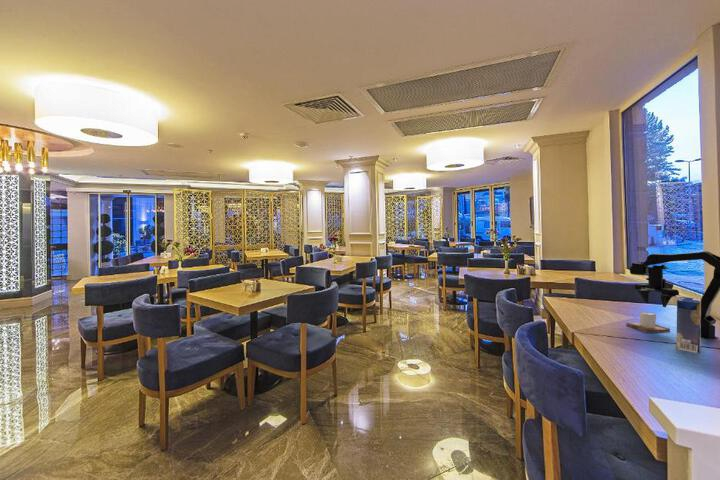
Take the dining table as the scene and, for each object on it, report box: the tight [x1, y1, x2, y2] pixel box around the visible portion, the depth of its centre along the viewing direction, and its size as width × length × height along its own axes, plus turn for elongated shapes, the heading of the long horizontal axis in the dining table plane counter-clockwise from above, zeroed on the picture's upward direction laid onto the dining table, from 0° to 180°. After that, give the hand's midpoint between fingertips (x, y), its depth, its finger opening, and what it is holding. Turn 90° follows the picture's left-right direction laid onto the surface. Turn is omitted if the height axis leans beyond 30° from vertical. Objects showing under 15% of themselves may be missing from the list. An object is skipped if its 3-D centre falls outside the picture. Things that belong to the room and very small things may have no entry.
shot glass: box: [638, 311, 657, 328], centre depth 163 cm, size 7×7×7 cm
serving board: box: [625, 321, 671, 333], centre depth 163 cm, size 12×12×2 cm
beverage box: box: [675, 296, 702, 354], centre depth 137 cm, size 7×11×22 cm, turn 130°
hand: (655, 305), depth 165 cm, fingers open, 9 cm apart
